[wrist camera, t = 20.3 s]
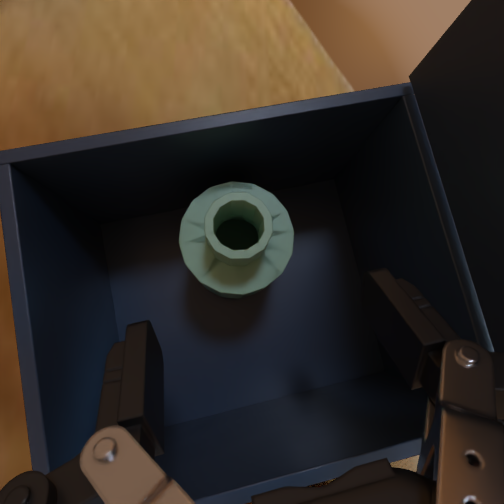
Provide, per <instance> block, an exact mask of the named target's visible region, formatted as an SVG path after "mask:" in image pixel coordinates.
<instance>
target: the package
mask: <svg viewBox="0 0 504 504" xmlns="http://www.w3.org/2000/svg"><path fill="white" fill-rule="evenodd" d="M232 181H233V182H242V183H251V184H255V185H257V186H259V187H261V188H263V189H264V190H266V191H268V192H270V193H272V194H273V195H274V196H275V197H276V198H277V199H278V200H279V202H280V203H281V204H282V205H283V206H284V207H285V209H286V210H287V211H288V214H289V217H290V220H291V223H292V226H293V229H294V242H293V253H292V256H291V258H290V260H289V262H288V264H287V266H286V268H285V270H284V272H283V273H282V274H281V275H280V276H279V277H278V278H276V279H275V280H274V281H273V282H272V283H271V284H269V285H268V286H267V287H266V288H264V289H262V290H260V291H259V292H257V293H255V294H252V295H249V296H246V297H243V298H240V299H236V298H225V297H221V296H219V295H217V294H215V293H213V292H211V291H209V290H207V289H206V288H205V287H204V286H203V285H202V284H201V283H200V282H199V281H198V279H197V278H196V277H195V276H194V275H193V273H192V272H191V271H190V270H189V268H188V267H187V266H186V265H185V263H184V259H183V256H182V252H181V249H180V246H179V234H180V226H181V220H182V218H183V216H184V214H185V213H186V211H187V209H188V207H189V206H190V204H191V202H192V201H193V200H194V199H195V198H197V197H198V196H199V195H200V194H202V193H203V192H204V191H206V190H207V189H208V188H210V187H213V186H216V185H220V184H223V183H227V182H232ZM0 211H1V219H2V227H3V235H4V244H5V252H6V260H7V268H8V276H9V284H10V292H11V300H12V308H13V316H14V324H15V332H16V341H17V349H18V357H19V365H20V373H21V381H22V389H23V397H24V405H25V413H26V421H27V430H28V438H29V446H30V454H31V462H32V470H33V471H39V472H42V473H43V474H44V475H46V474H48V473H49V472H51V471H53V470H54V469H56V468H58V467H60V466H61V465H63V464H65V463H66V462H68V461H70V460H71V459H73V458H74V457H76V456H77V455H78V454H80V453H81V452H82V449H83V447H84V445H85V444H86V442H87V441H88V440H89V439H90V437H91V436H93V435H94V432H95V428H96V423H97V416H98V410H99V403H100V396H101V390H102V385H103V376H104V373H105V371H104V370H105V363H106V356H107V355H108V353H109V351H110V350H111V348H112V346H113V345H114V343H116V342H121V341H125V335H126V327H127V325H128V324H132V323H136V322H141V321H145V320H150V322H151V324H152V327H153V329H154V331H155V334H156V336H157V339H158V341H159V344H160V346H161V349H162V354H163V360H164V453H165V454H162V455H158V456H155V462H156V463H157V464H158V466H159V467H160V468H161V469H162V470H163V471H164V472H165V473H166V474H167V475H168V476H169V477H172V478H173V479H174V480H175V481H176V482H177V483H178V484H179V485H180V487H181V488H182V489H183V490H184V491H185V492H186V493H187V494H188V495H189V497H190V498H191V499H192V500H193V501H194V502H195V503H196V504H246V503H250V502H252V500H251V496H253V495H256V494H260V493H263V492H267V491H270V490H274V489H277V488H281V487H285V486H295V487H306V486H310V485H313V484H317V483H321V482H324V481H328V480H331V479H335V478H338V477H340V476H341V475H343V474H344V473H346V472H347V471H349V470H350V469H352V468H353V467H355V466H359V465H362V464H366V463H369V462H373V461H376V460H380V459H384V458H387V459H388V461H389V463H391V462H395V461H399V460H402V459H406V458H409V457H413V456H416V455H420V451H421V443H422V433H423V424H424V414H425V404H426V397H427V392H426V391H425V389H424V388H423V387H421V388H417V389H413V390H411V388H410V387H409V385H408V384H407V382H406V380H405V379H404V377H403V376H402V374H401V373H400V371H399V369H398V368H397V366H396V365H395V363H394V362H393V360H392V359H391V357H390V355H389V354H388V352H387V351H386V349H385V348H384V346H383V344H382V343H381V341H380V340H379V338H378V337H377V335H376V333H375V332H374V330H373V329H372V327H371V326H370V324H369V322H368V321H367V319H366V318H365V316H364V314H363V311H362V308H361V292H362V283H363V275H364V273H365V272H367V271H371V270H376V269H380V268H386V269H388V270H389V272H390V273H391V274H392V275H393V276H394V278H395V279H399V278H403V279H404V280H406V281H408V282H409V283H411V284H413V285H414V286H416V288H417V289H418V290H419V291H420V292H421V293H422V294H423V296H424V298H426V299H427V300H428V301H429V302H430V304H431V306H433V307H434V308H435V309H436V310H437V312H438V313H439V314H440V315H441V316H442V317H443V318H444V319H445V321H446V322H447V323H448V324H449V325H450V326H451V327H452V329H453V330H454V331H455V332H456V333H457V334H458V335H459V337H460V338H461V339H465V340H469V341H472V342H475V343H477V344H479V345H481V346H482V347H483V348H485V349H486V350H487V351H489V352H494V349H493V346H492V342H491V339H490V336H489V333H488V330H487V326H486V323H485V320H484V317H483V313H482V310H481V307H480V304H479V301H478V297H477V294H476V291H475V288H474V284H473V281H472V278H471V275H470V272H469V268H468V265H467V262H466V259H465V256H464V252H463V249H462V246H461V243H460V239H459V236H458V233H457V230H456V227H455V223H454V220H453V217H452V214H451V210H450V207H449V204H448V201H447V198H446V194H445V191H444V188H443V185H442V181H441V178H440V175H439V172H438V169H437V165H436V162H435V159H434V156H433V153H432V149H431V146H430V143H429V140H428V136H427V133H426V130H425V127H424V124H423V120H422V117H421V114H420V111H419V107H418V104H417V101H416V98H415V95H414V91H413V88H412V85H411V82H409V83H403V84H397V85H391V86H386V87H379V88H373V89H368V90H361V91H355V92H349V93H343V94H337V95H331V96H325V97H319V98H313V99H307V100H301V101H295V102H289V103H283V104H277V105H271V106H265V107H260V108H254V109H248V110H242V111H236V112H230V113H224V114H218V115H212V116H206V117H200V118H194V119H188V120H182V121H176V122H170V123H164V124H158V125H152V126H146V127H140V128H134V129H128V130H122V131H116V132H110V133H104V134H98V135H92V136H86V137H80V138H74V139H68V140H63V141H57V142H51V143H45V144H39V145H33V146H27V147H21V148H15V149H9V150H3V151H0ZM497 420H498V422H502V423H503V424H504V422H503V421H502V420H501V419H497Z"/></svg>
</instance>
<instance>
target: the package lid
mask: <svg viewBox="0 0 504 504" xmlns="http://www.w3.org/2000/svg"><path fill="white" fill-rule="evenodd" d="M409 78H410V82H411V85H412V88H413V91H414V95H415V98H416V101H417V104H418V107H419V111H420V114H421V117H422V120H423V124H424V127H425V130H426V133H427V136H428V140H429V143H430V146H431V149H432V153H433V156H434V159H435V162H436V165H437V169H438V172H439V175H440V178H441V181H442V185H443V188H444V191H445V194H446V198H447V201H448V204H449V207H450V210H451V214H452V217H453V220H454V223H455V227H456V230H457V233H458V236H459V239H460V243H461V246H462V249H463V252H464V256H465V259H466V262H467V265H468V268H469V272H470V275H471V278H472V281H473V284H474V288H475V291H476V294H477V297H478V301H479V304H480V307H481V310H482V313H483V317H484V320H485V323H486V326H487V330H488V333H489V336H490V339H491V342H492V346H493V349H494V352H504V0H471V1H470V3H469V4H468V5H467V6H466V8H465V9H464V10H463V11H462V12H461V14H460V15H459V16H458V17H457V18H456V20H455V21H454V22H453V23H452V25H451V26H450V27H449V28H448V29H447V31H446V32H445V33H444V34H443V35H442V37H441V38H440V39H439V40H438V42H437V43H436V44H435V45H434V47H433V48H432V49H431V50H430V51H429V53H428V54H427V55H426V56H425V58H424V59H423V60H422V61H421V62H420V63H419V65H418V66H417V67H416V68H415V69H414V71H413V72H412V73H411V74H410V76H409Z"/></svg>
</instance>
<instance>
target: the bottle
mask: <svg viewBox="0 0 504 504" xmlns="http://www.w3.org/2000/svg"><path fill="white" fill-rule="evenodd" d="M293 242H294V229H293V226H292V223H291V220H290V217H289V214H288V211H287V210H286V209H285V207H284V206H283V205H282V204H281V203H280V202H279V200H278V199H277V198H276V197H275V196H274V195H273V194H272V193H270V192H268V191H266V190H264V189H263V188H261V187H259V186H257V185H255V184H251V183H242V182H233V181H232V182H227V183H223V184H220V185H216V186H213V187H210V188H208V189H207V190H206V191H204V192H203V193H202V194H200V195H199V196H198V197H197V198H195V199H194V200H193V201H192V202H191V204H190V206H189V207H188V209H187V211H186V213H185V214H184V216H183V218H182V220H181V226H180V234H179V246H180V249H181V252H182V256H183V259H184V263H185V265H186V266H187V267H188V268H189V270H190V271H191V272H192V273H193V275H194V276H195V277H196V278H197V279H198V281H199V282H200V283H201V284H202V285H203V286H204V287H205V288H206V289H207V290H209V291H211V292H213V293H215V294H217V295H219V296H221V297H225V298H236V299H240V298H243V297H246V296H249V295H252V294H255V293H257V292H259V291H260V290H262V289H264V288H266V287H267V286H268V285H269V284H271V283H272V282H273V281H274V280H275V279H276V278H278V277H279V276H280V275H281V274H282V273H283V272H284V270H285V268H286V266H287V264H288V262H289V260H290V258H291V256H292V253H293Z"/></svg>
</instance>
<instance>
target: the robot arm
mask: <svg viewBox="0 0 504 504" xmlns="http://www.w3.org/2000/svg"><path fill="white" fill-rule="evenodd" d="M361 308H362V311H363V314H364V316H365V318H366V319H367V321H368V322H369V324H370V326H371V327H372V329H373V330H374V332H375V333H376V335H377V337H378V338H379V340H380V341H381V343H382V344H383V346H384V348H385V349H386V351H387V352H388V354H389V355H390V357H391V359H392V360H393V362H394V363H395V365H396V366H397V368H398V369H399V371H400V373H401V374H402V376H403V377H404V379H405V380H406V382H407V384H408V385H409V387H410V388H411V390H413V389H417V388H421V387H423V388H424V389H425V391H426V392H427V397H426V404H425V414H424V424H423V433H422V443H421V451H420V456H419V460H418V465H417V471H416V472H413V471H410V470H406V469H401V468H394V467H391V465H390V463H389V461H388V459H387V458H384V459H380V460H376V461H373V462H369V463H366V464H362V465H359V466H355V467H353V468H352V469H350V470H349V471H347V472H346V473H344V474H343V475H341V476H340V477H338V478H337V479H335V480H334V481H332V482H331V483H329V484H328V485H326V486H323V487H295V486H285V487H281V488H277V489H274V490H270V491H267V492H263V493H260V494H256V495H253V496H251V500H252V504H504V424H503V423H502V422H498V420H497V419H501V420H502V421H503V422H504V352H489V351H487V350H486V349H485V348H483V347H482V346H481V345H479V344H477V343H475V342H472V341H469V340H465V339H461V338H460V337H459V335H458V334H457V333H456V332H455V331H454V330H453V329H452V327H451V326H450V325H449V324H448V323H447V322H446V321H445V319H444V318H443V317H442V316H441V315H440V314H439V313H438V312H437V310H436V309H435V308H434V307H433V306H431V304H430V302H429V301H428V300H427V299H426V298H424V296H423V294H422V293H421V292H420V291H419V290H418V289H417V288H416V286H414V285H413V284H411V283H409V282H408V281H406V280H404V279H403V278H399V279H395V278H394V276H393V275H392V274H391V273H390V272H389V270H388V269H386V268H380V269H376V270H371V271H367V272H365V273H364V275H363V283H362V292H361ZM104 371H105V373H104V376H103V385H102V390H101V396H100V403H99V410H98V416H97V423H96V428H95V432H94V435H93V436H91V437H90V439H89V440H88V441H87V442H86V444H85V445H84V447H83V449H82V452H81V453H80V454H78V455H77V456H76V457H74V458H73V459H71V460H70V461H68V462H66V463H65V464H63V465H61V466H60V467H58V468H56V469H54V470H53V471H51V472H49V473H48V474H46V475H44V474H43V473H42V472H39V471H27V472H24V473H22V474H20V475H18V476H16V477H15V478H13V479H12V480H11V481H9V482H8V483H7V484H6V485H5V486H4V487H3V488H2V489H1V491H0V504H196V503H195V502H194V501H193V500H192V499H191V498H190V497H189V495H188V494H187V493H186V492H185V491H184V490H183V489H182V488H181V487H180V485H179V484H178V483H177V482H176V481H175V480H174V479H173V478H172V477H169V476H168V475H167V474H166V473H165V472H164V471H163V470H162V469H161V468H160V467H159V466H158V464H157V463H156V462H155V456H158V455H162V454H165V453H164V360H163V354H162V349H161V346H160V344H159V341H158V339H157V336H156V334H155V331H154V329H153V327H152V324H151V322H150V320H145V321H141V322H136V323H132V324H128V325H127V327H126V335H125V341H121V342H116V343H114V345H113V346H112V348H111V350H110V351H109V353H108V355H107V356H106V363H105V370H104Z"/></svg>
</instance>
